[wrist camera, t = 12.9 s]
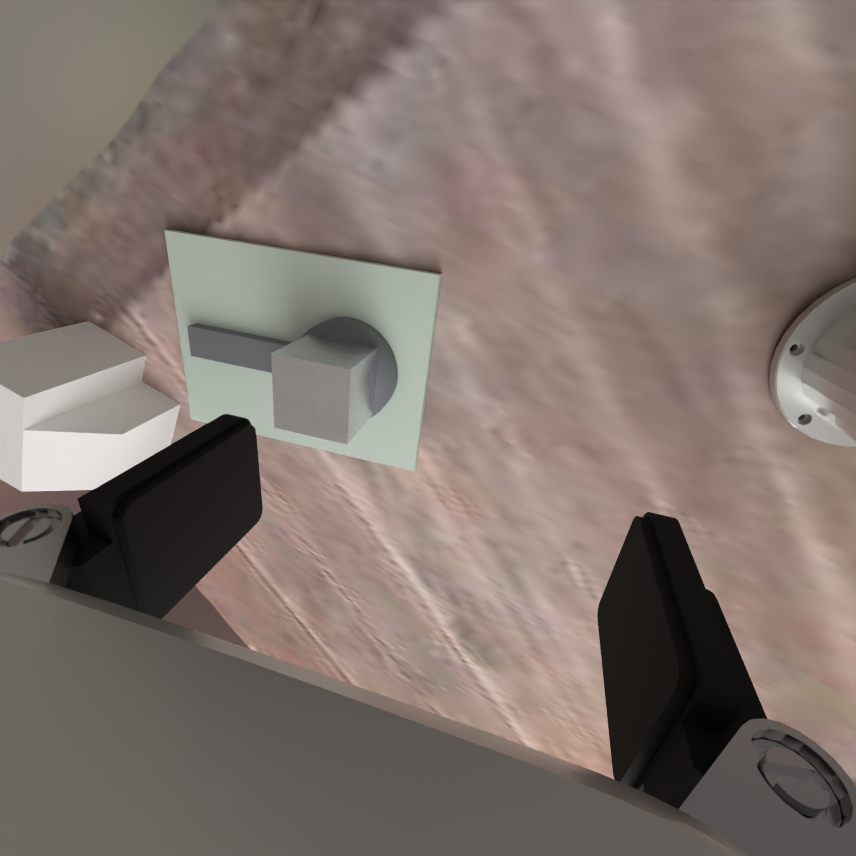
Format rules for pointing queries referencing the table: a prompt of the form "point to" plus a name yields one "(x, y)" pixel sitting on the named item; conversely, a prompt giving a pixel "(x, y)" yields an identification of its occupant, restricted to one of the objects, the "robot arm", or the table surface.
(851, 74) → the table surface
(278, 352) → the brushed aluminum cube
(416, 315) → the board
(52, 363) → the corner bracket
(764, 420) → the table surface
